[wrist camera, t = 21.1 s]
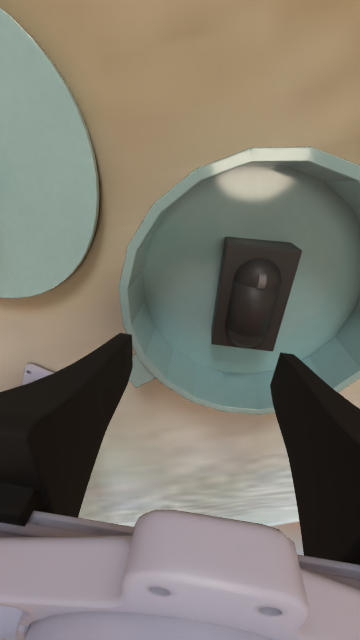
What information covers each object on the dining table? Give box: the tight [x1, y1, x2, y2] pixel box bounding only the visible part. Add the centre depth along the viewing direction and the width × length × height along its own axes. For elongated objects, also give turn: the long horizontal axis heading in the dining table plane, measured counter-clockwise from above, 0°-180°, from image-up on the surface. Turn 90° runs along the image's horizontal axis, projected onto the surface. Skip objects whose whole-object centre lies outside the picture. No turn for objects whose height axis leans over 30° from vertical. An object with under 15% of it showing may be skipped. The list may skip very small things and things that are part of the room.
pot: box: [119, 147, 360, 415], centre depth 19 cm, size 18×23×5 cm
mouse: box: [211, 237, 302, 351], centre depth 19 cm, size 8×5×4 cm, turn 176°
